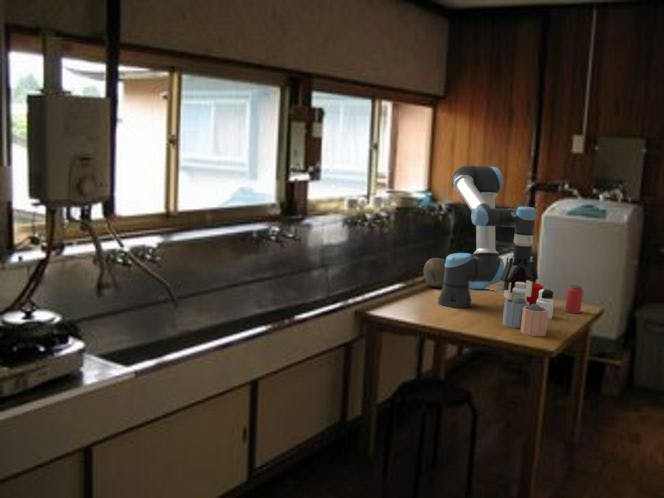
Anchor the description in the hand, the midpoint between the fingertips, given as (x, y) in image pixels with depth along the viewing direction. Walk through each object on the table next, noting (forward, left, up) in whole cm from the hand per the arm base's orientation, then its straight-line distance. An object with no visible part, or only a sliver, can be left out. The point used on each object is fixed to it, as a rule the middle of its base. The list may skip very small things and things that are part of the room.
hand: (517, 297), depth 305 cm
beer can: (-11, +45, -12) cm, 48 cm away
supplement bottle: (-20, +20, -12) cm, 31 cm away
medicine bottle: (-8, +24, -12) cm, 28 cm away
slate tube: (0, 0, -12) cm, 12 cm away
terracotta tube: (+12, -1, -12) cm, 17 cm away
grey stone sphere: (-72, +12, -12) cm, 74 cm away
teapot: (-66, +32, -12) cm, 74 cm away
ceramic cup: (-29, +33, -12) cm, 46 cm away
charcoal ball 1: (0, 0, -6) cm, 6 cm away
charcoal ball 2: (+13, -1, -6) cm, 14 cm away
